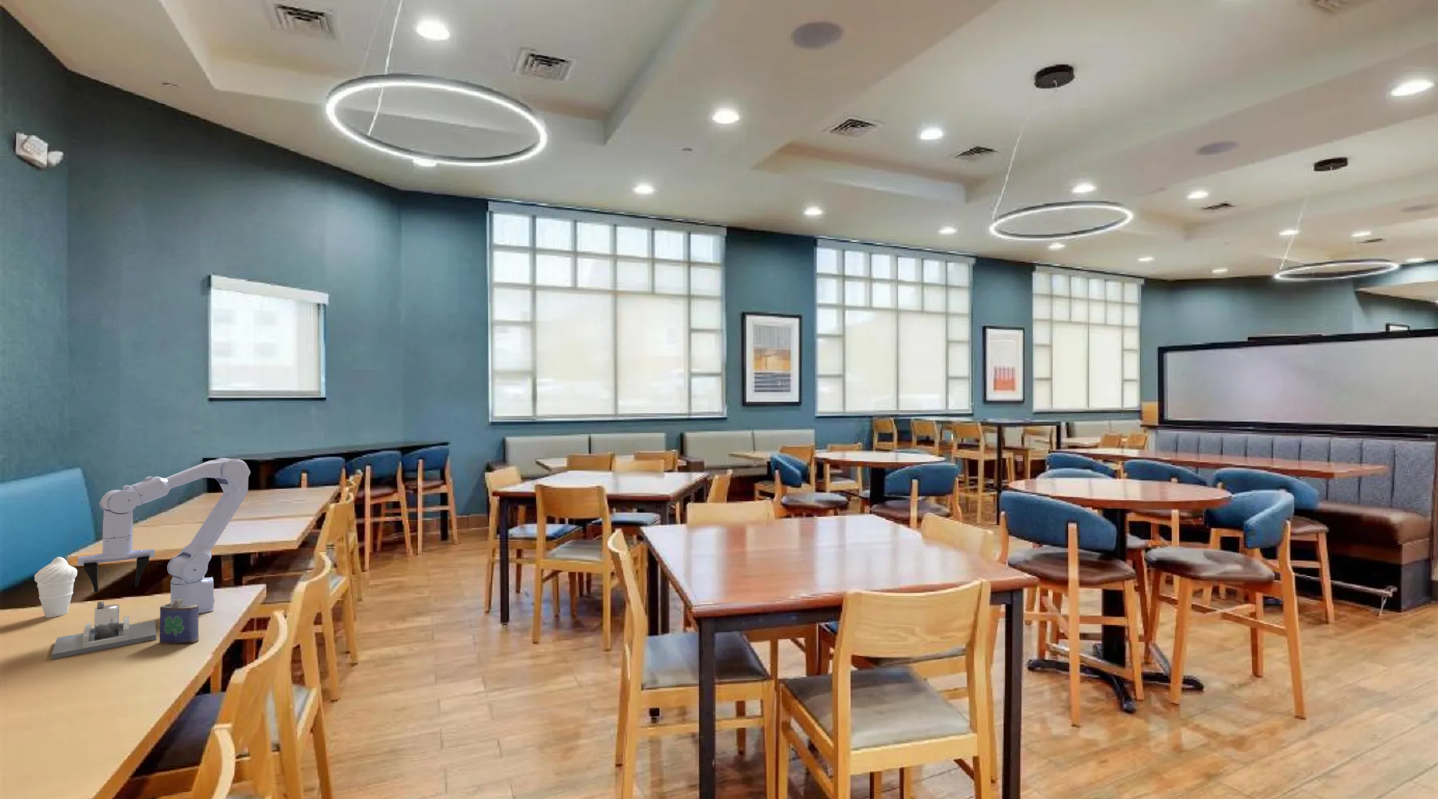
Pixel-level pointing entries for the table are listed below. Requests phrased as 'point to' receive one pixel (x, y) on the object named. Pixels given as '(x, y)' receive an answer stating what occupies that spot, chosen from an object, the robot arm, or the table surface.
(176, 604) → the flask
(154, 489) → the robot arm
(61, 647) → the grey framed base plate
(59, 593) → the soft serve ice cream cone
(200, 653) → the table surface
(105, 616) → the spout can
